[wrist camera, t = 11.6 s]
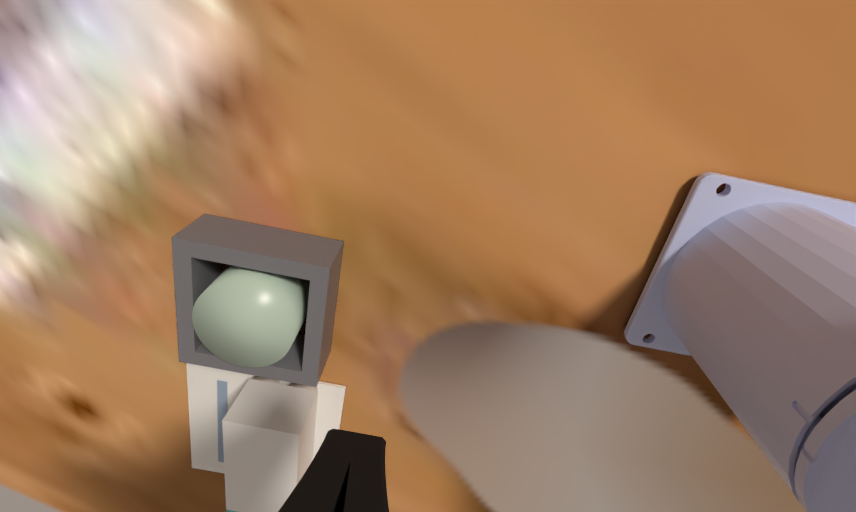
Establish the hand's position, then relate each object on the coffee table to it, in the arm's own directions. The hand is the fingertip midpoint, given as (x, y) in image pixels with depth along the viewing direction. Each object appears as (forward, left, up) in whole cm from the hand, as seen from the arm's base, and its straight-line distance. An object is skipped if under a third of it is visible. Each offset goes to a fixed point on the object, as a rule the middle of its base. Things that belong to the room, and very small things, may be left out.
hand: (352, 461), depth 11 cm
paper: (+6, +11, -10) cm, 16 cm away
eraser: (+4, +11, -10) cm, 15 cm away
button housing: (+6, +2, -10) cm, 12 cm away
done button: (+6, +2, -11) cm, 12 cm away
